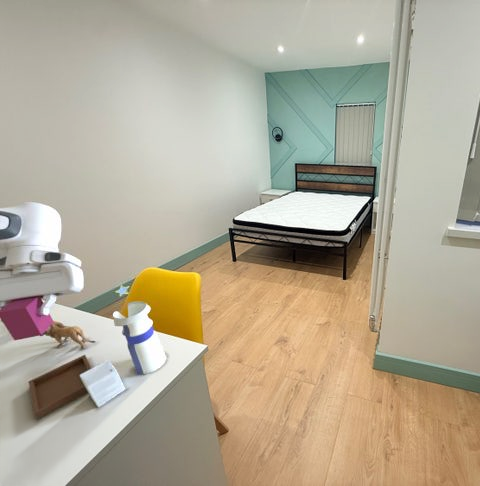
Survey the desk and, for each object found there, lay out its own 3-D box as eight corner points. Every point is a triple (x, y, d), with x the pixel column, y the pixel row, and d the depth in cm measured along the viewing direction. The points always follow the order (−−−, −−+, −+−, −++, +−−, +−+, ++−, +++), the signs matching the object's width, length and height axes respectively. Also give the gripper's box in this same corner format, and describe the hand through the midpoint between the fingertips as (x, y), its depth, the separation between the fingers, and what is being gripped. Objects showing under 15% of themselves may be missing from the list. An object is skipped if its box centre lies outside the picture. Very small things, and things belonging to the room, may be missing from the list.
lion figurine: (41, 350, 81) (28, 328, 77) (57, 338, 86) (45, 316, 82) (90, 349, 81) (79, 326, 78) (102, 336, 86) (92, 314, 83)
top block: (14, 340, 60) (-4, 312, 57) (28, 326, 64) (12, 299, 61) (41, 335, 62) (25, 307, 58) (53, 321, 66) (39, 295, 63)
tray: (32, 386, 70) (28, 381, 69) (87, 359, 78) (84, 354, 77) (37, 419, 62) (33, 414, 61) (99, 385, 70) (96, 380, 69)
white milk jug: (125, 371, 74) (93, 297, 64) (152, 349, 81) (127, 280, 71) (147, 379, 71) (117, 304, 61) (172, 355, 79) (150, 285, 69)
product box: (117, 378, 72) (108, 358, 69) (126, 389, 68) (117, 369, 66) (89, 395, 67) (78, 374, 64) (97, 408, 64) (86, 387, 61)
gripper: (-36, 266, 59) (-51, 327, 55) (74, 252, 66) (69, 307, 61) (-11, 273, 65) (-22, 330, 61) (88, 260, 71) (85, 311, 67)
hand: (25, 318), depth 61 cm, fingers closed on top block, 5 cm apart
